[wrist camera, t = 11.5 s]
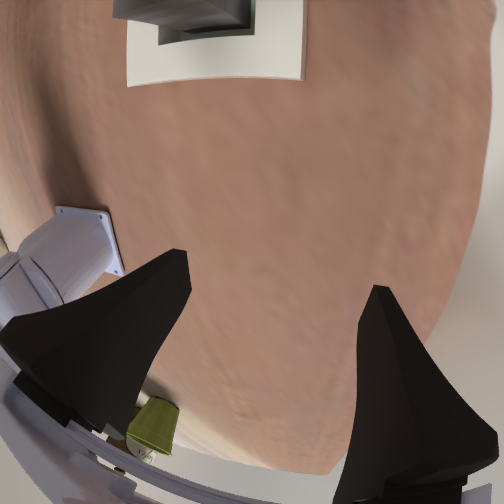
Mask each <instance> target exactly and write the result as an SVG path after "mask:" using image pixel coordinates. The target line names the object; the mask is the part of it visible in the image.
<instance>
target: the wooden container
mask: <svg viewBox="0 0 504 504" xmlns="http://www.w3.org/2000/svg"><path fill="white" fill-rule="evenodd" d="M140 411H141V409H140V408H138V407H134V410H133V413H132V416H131V420H130V423H131V422H132V421H133V420H134V418H135V417H136V416H137V414H138V413H139V412H140ZM130 423H129V424H130ZM106 442H107V443H109V444H111V445H112V446H114V447H116V448H118V449H120V450H122V451H123V452H125V453H127V454H129V455H131V456H133V457H135V458H137V459H139V460H141V461H143V462H145V463H147V464H150V465H151V464H152V462H153V460H154V458H155V456H156V454H157V452H156V451H154V450H151V449H149V448H147V447H145V446H143V445H141V444H139V443H137V442H135V441H134V440H132V439H130V438H129V437H127V436H126V438H125V439H123V440H116V439H114V438H112V437H111V436H108V438H107V440H106ZM114 470H115V471H116V472H118V473H120V474H122V475H125V471H124V470H122V469H120V468H118V467H115V468H114Z"/></svg>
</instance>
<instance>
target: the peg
mask: <svg viewBox="0 0 504 504" xmlns="http://www.w3.org/2000/svg"><path fill="white" fill-rule="evenodd" d="M113 18H119V19H126V20H132V21H138V22H144V23H149V24H154V25H158V26H163V27H167V28H171V29H175V30H179V31H183V32H187V33H190V34H196V33H204V32H212V31H222V30H234V29H250V27H251V0H114V5H113Z"/></svg>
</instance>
